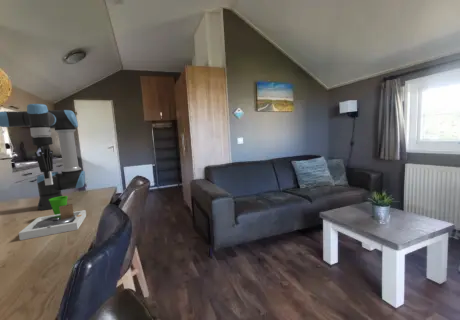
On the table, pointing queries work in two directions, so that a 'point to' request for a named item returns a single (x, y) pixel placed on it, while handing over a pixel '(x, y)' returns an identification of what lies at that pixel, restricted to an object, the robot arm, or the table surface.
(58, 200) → the cup
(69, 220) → the dial
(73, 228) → the white square tray
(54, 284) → the table surface
